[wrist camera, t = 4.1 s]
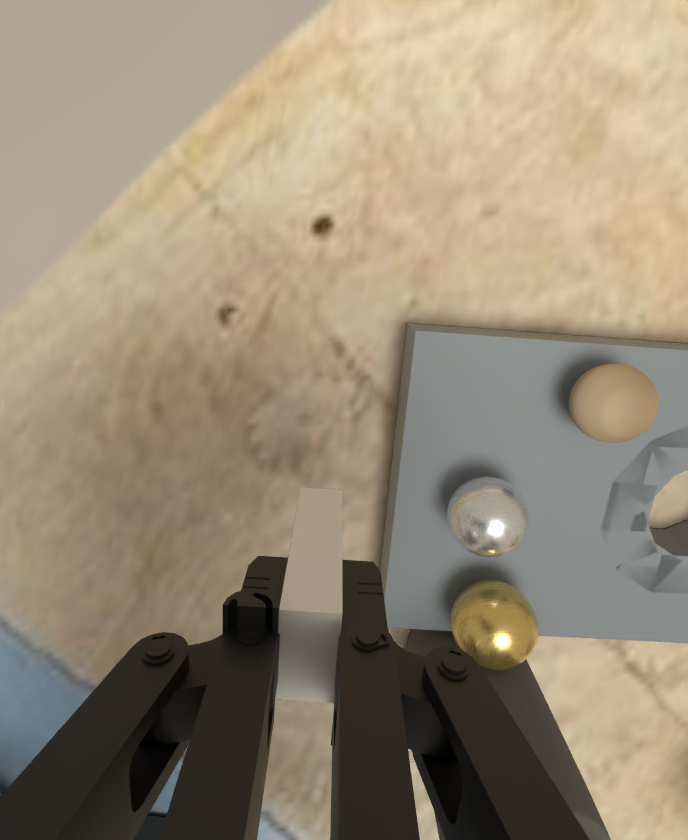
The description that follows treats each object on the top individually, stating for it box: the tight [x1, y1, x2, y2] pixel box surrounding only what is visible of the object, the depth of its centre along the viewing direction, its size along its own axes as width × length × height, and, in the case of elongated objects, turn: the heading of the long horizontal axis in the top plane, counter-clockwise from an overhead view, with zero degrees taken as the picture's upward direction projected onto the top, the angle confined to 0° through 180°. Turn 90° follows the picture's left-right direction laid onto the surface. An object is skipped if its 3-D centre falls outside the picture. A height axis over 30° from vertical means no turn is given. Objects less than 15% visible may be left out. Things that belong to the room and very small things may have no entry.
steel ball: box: [447, 476, 530, 557], centre depth 20 cm, size 3×3×3 cm
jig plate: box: [380, 323, 688, 643], centre depth 23 cm, size 19×14×2 cm
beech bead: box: [569, 364, 659, 443], centre depth 19 cm, size 3×3×3 cm
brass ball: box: [451, 580, 538, 670], centre depth 22 cm, size 4×4×4 cm
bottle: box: [407, 629, 610, 840], centre depth 20 cm, size 6×6×15 cm
